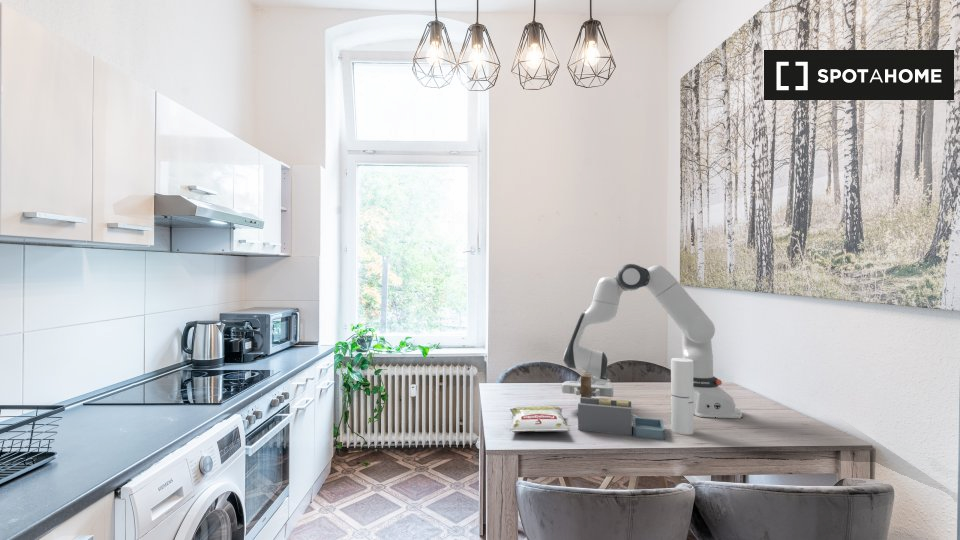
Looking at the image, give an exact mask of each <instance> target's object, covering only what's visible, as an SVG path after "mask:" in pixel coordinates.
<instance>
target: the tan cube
mask: <svg viewBox="0 0 960 540" xmlns="http://www.w3.org/2000/svg"><path fill="white" fill-rule="evenodd" d="M599 405H606V406H611V398H604V397H599Z"/></svg>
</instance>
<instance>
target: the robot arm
mask: <svg viewBox="0 0 960 540" xmlns="http://www.w3.org/2000/svg"><path fill="white" fill-rule="evenodd" d="M640 288H646V289H648V291H649V292H650V293H651V294H652V295H653V297H654V298H655V299H656V301H658V303H659V304H660V305H661V307H662V308H663V309H664V310H665V312H666V313H667V314H668V315H669V317H670V318H671V319H672V320H673V321H674V323H675V324H676V325H677V326H678V328H679V329H680V330H681V346H682V347H681V348H682V350H681V351H682V358H686V359H691V360H693V408H694V415H695V416H697V417H701V418H715V417H716V418H717V419H718V418H719V419H741V417H743V413H742V411H741V410H740V409H739V408H737V407H736V403H735V399H734V398H733V397H732V396H731V394H729V393H728V392H727V391H725V390H724V389H723V388H722V387H720V386H721V385H722V384H723V381H722V380H721V379H719V378H717V377H716V376H714V355H713V345H712V339H713V338H714V336H715V332H716V328H715V324H714V323H713V321H712V320H711V319H710V317H709V316H708V315H707V313H706V312H704V310H703V309H702V308H701V307H700V305H698V303H697V302H696V301H695V300H694V299H693V298H692V297H691V295H690V294H689V293H688V292H687V291H686V289H685V288H684V286H682V285H681V283H680V282H679V281H678V280H677V278H676V277H674V275H673V274H672V273H671V272H670V271H669V270H667V269H666V267H664V266H662V265H661V264H655V265H652V266H650V267H648V268H645V267H643V266H640V265H639V264H634V263H627V264H624V265H623V266H621V267H620V268H619V269H618V271H617V274H616V275H615V276H603V277H601V278H599V279H598V282H597V284H596V285H595V289H594V293H593V297H592V301H591V302H590V303H591V304H590V306H589V307H588V308H587V309H585V310H583V311H582V312H581V314H580V316H579V318H578V320H577V322H576V325H575V327H574V331H573V332H572V333H573V334H572V336H571V338H570V340H569V343H568V345H567V347H566V348H565V351H564V353H563V363H564V364H565V366H566V367H567V368H568V369H574V370H581V371H583V372H582V373H581V375H582V374H591V398H596V397H607V398H608V397H609V398H613V397H614V385H613V383H612V382H611V379H609V378H604V377H605V376H606V373H607V368H608V357H607V355H606V353H605V352H603V351H601V350H597V349H593V348H588V347H583V346H580V343H581V340H582V337H583V336H584V335H583V334H584V332H585V330H586V329H587V328H588V327H589V326H592V325H597V324H604V323H605V324H606V323H607V322H610V321H612V320H613V319H614V318H616V315H617V314H618V313H617V312H618V310H619V305H620V299H621V296H622V294H623V292H625V291H627V292H628V291H631V292H632V291H636V290H639V289H640ZM581 375H580V377H579V379H578V381H573V380H567V381H566V380H565V381H564V382H562V383H561V393H563V394H571V395H576V396H581Z"/></svg>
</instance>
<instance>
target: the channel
mask: <svg viewBox="0 0 960 540" xmlns="http://www.w3.org/2000/svg"><path fill="white" fill-rule="evenodd" d="M599 398H600V397H599ZM599 398H598V397H597V398H596V397H591V398H587V397H581V396H580V397H579V399H580V400H579V402H578V404H577V430H578V431H587V432H596V433H597V432H598V433H606V434H614V435H615V434H616V435H624V436H633V416H632V414H633V410H632V400H628V404H629V407H617V399H611V398H610V399H611V406H606V405H599Z"/></svg>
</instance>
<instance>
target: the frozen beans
mask: <svg viewBox="0 0 960 540" xmlns="http://www.w3.org/2000/svg"><path fill="white" fill-rule="evenodd" d="M509 411H510V412H511V413H512V422H511V427H510V428H509V432H512V433H524V432H525V433H540V432H541V433H542V432H543V433H545V432H546V433H547V432H550V433H551V432H560V433H561V432H563V433H565V432H568V431H570V430H571V429H570V428H569V427H568V425H567V423H566V421H565V419H564V417H563V416H564V415H563V414H562V412H563V407H559V406H526V407H525V406H522V407H521V406H520V407H519V406H518V407H513V408H510V409H509Z"/></svg>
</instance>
